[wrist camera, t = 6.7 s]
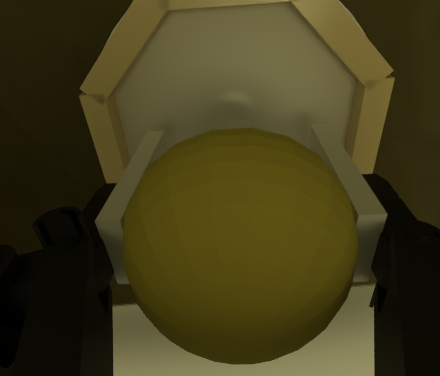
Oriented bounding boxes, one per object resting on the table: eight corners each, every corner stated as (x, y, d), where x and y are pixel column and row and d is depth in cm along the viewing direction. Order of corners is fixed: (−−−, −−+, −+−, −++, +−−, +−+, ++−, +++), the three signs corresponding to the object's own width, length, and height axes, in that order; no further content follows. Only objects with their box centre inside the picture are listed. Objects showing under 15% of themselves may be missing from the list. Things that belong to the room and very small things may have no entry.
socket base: (132, 232, 22) (123, 252, 20) (57, -24, 14) (33, -25, 12) (349, 226, 21) (359, 247, 19) (409, -53, 13) (435, -58, 11)
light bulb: (290, 204, 17) (349, 421, 8) (166, 194, 17) (102, 404, 8) (322, 77, 13) (480, 239, 5) (163, 63, 13) (42, 205, 5)
